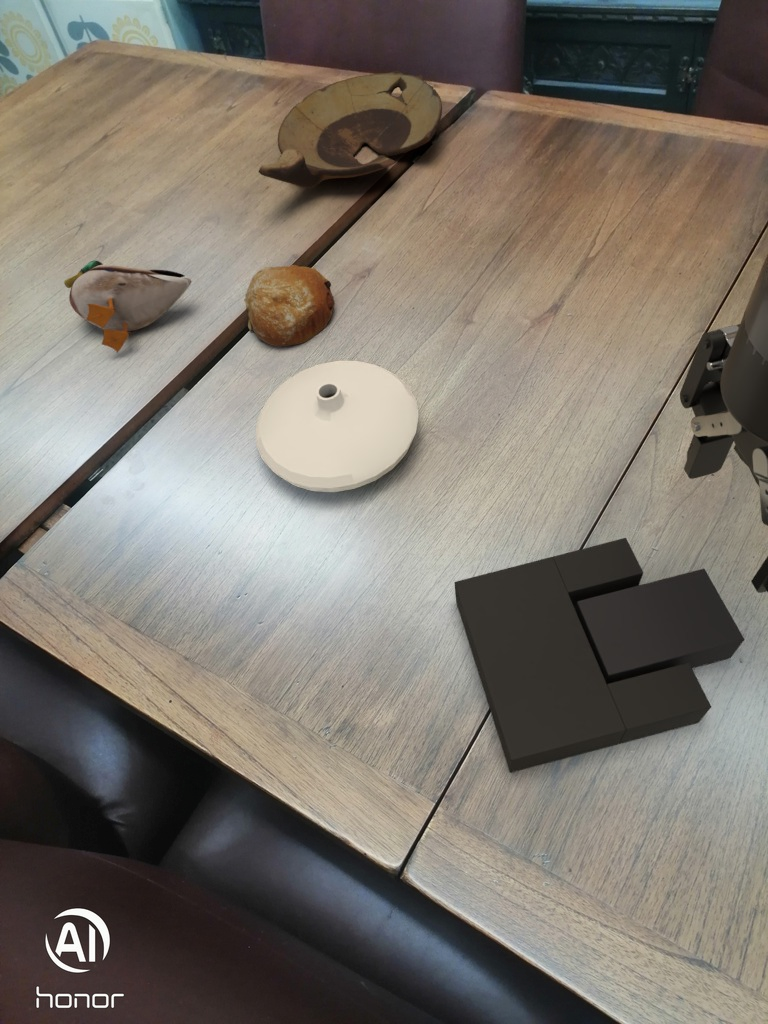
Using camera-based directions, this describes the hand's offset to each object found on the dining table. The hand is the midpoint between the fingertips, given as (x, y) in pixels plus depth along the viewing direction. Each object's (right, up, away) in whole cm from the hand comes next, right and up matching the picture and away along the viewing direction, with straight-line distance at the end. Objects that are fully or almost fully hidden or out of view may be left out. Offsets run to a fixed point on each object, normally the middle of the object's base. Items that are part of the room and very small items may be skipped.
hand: (733, 524), depth 43 cm
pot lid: (-26, +8, +26) cm, 37 cm away
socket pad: (-7, -10, +11) cm, 17 cm away
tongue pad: (-1, -9, +11) cm, 14 cm away
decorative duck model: (-51, +25, +41) cm, 70 cm away
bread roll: (-32, +23, +37) cm, 54 cm away
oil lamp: (-27, +50, +54) cm, 78 cm away
